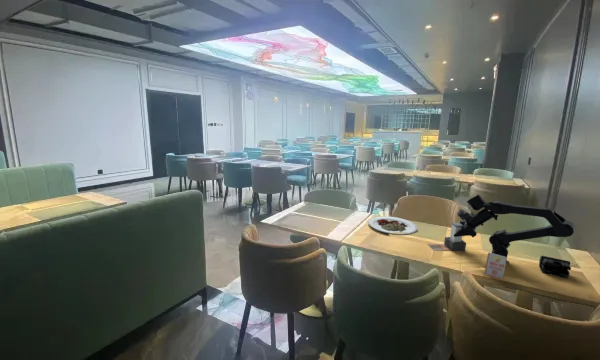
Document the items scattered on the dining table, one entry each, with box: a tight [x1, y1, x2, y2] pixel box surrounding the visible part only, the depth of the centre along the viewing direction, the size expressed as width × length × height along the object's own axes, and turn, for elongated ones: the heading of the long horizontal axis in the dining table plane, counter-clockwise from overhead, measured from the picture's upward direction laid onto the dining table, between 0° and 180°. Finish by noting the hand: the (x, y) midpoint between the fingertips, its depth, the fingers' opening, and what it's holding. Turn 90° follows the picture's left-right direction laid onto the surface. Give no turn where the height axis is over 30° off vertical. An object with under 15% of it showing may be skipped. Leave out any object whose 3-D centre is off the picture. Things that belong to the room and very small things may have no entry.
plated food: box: [368, 216, 418, 235], centre depth 182 cm, size 30×30×3 cm
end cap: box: [538, 255, 572, 280], centre depth 130 cm, size 10×7×7 cm
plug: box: [449, 222, 464, 242], centre depth 150 cm, size 4×4×12 cm
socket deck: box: [427, 236, 467, 252], centre depth 152 cm, size 8×17×6 cm, turn 90°
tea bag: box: [484, 252, 508, 280], centre depth 127 cm, size 4×7×10 cm, turn 53°
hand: (453, 234), depth 151 cm, fingers closed on plug, 5 cm apart
